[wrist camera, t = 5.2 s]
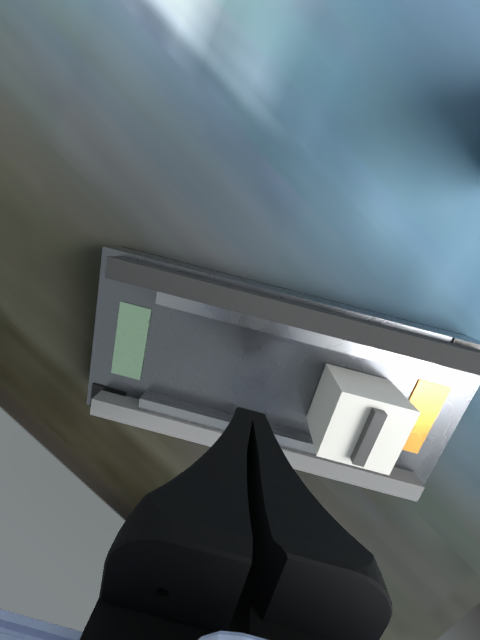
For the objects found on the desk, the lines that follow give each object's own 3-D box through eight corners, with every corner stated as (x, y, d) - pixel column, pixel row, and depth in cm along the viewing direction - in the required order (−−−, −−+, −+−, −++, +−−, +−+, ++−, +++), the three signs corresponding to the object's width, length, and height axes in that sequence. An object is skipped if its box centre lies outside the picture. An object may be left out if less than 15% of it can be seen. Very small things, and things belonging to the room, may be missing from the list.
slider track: (401, 464, 21) (428, 506, 18) (106, 386, 21) (77, 412, 18) (467, 335, 18) (514, 356, 15) (123, 246, 18) (92, 246, 15)
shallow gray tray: (407, 485, 18) (417, 501, 17) (100, 404, 19) (89, 414, 18) (479, 349, 16) (497, 357, 14) (118, 255, 16) (106, 256, 15)
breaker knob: (365, 433, 18) (392, 481, 14) (306, 417, 18) (317, 461, 14) (389, 379, 16) (425, 417, 13) (326, 363, 16) (344, 395, 13)
